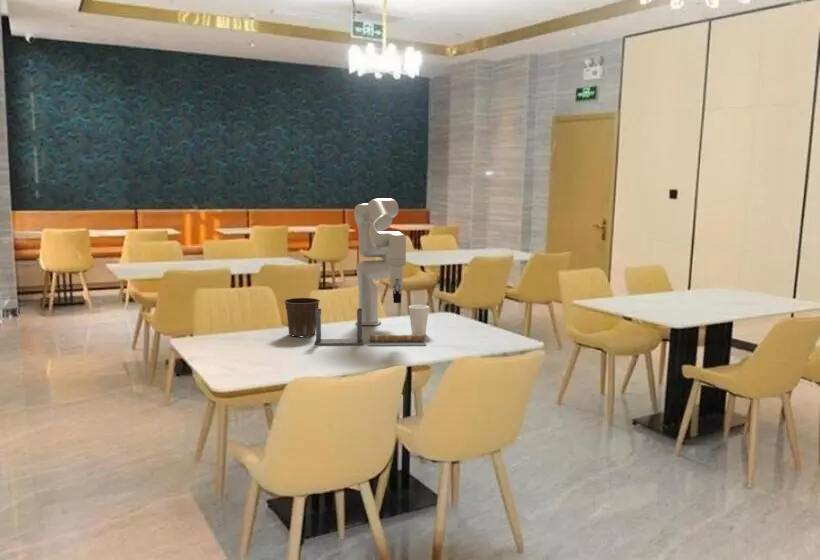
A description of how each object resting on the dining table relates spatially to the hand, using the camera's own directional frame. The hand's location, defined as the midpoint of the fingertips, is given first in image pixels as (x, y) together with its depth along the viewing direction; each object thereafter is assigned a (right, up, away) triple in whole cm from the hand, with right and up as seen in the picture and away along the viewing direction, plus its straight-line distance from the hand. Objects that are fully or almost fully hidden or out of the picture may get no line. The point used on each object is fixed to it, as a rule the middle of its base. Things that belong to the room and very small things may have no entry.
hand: (396, 300), depth 313 cm
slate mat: (0, -19, +2) cm, 19 cm away
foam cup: (+10, -16, +21) cm, 28 cm away
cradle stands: (-25, -19, +1) cm, 32 cm away
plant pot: (-44, -16, +19) cm, 51 cm away
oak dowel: (0, -18, +2) cm, 18 cm away
